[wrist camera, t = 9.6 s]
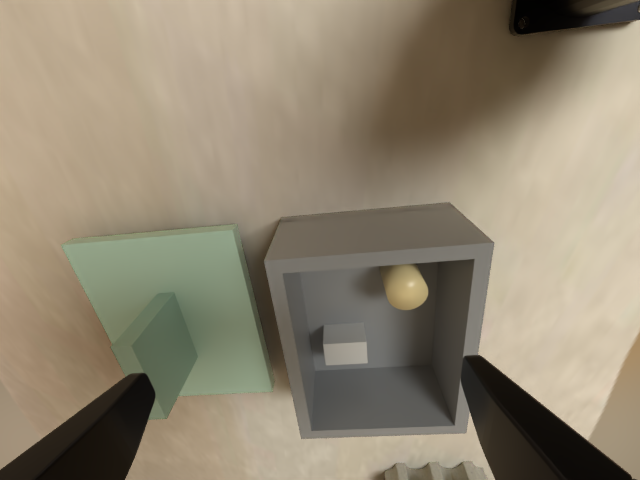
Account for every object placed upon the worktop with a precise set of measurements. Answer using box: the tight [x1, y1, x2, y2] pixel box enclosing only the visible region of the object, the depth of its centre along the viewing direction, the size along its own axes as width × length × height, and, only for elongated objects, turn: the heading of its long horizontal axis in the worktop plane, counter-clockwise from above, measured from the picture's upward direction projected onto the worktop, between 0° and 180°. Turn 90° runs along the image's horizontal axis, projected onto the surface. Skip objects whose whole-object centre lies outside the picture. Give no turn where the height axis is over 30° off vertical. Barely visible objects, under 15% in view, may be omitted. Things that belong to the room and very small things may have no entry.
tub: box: [264, 202, 494, 439], centre depth 20 cm, size 11×14×6 cm
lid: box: [61, 224, 275, 420], centre depth 21 cm, size 11×14×7 cm
